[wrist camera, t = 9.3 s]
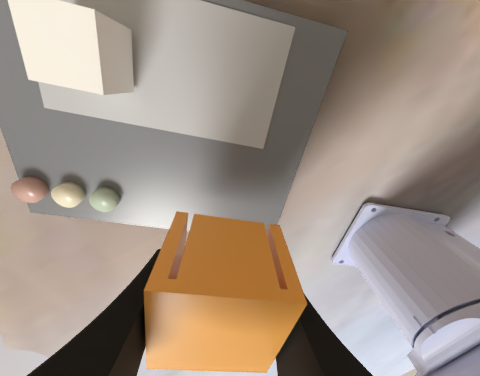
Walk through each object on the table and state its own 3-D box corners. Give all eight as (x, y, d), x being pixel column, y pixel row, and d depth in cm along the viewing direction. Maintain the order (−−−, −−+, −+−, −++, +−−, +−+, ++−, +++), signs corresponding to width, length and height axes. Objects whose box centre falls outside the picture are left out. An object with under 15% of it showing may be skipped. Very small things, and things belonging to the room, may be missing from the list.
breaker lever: (131, 29, 10) (94, 9, 7) (133, 92, 12) (103, 95, 9) (68, 13, 10) (4, -14, 7) (78, 80, 11) (28, 79, 8)
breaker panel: (335, 36, 12) (355, 27, 10) (268, 230, 20) (272, 247, 18) (-36, -70, 10) (-107, -110, 8) (46, 202, 17) (21, 218, 15)
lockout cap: (279, 225, 11) (307, 303, 7) (255, 289, 13) (266, 372, 10) (176, 211, 10) (143, 290, 6) (172, 281, 13) (146, 369, 9)
